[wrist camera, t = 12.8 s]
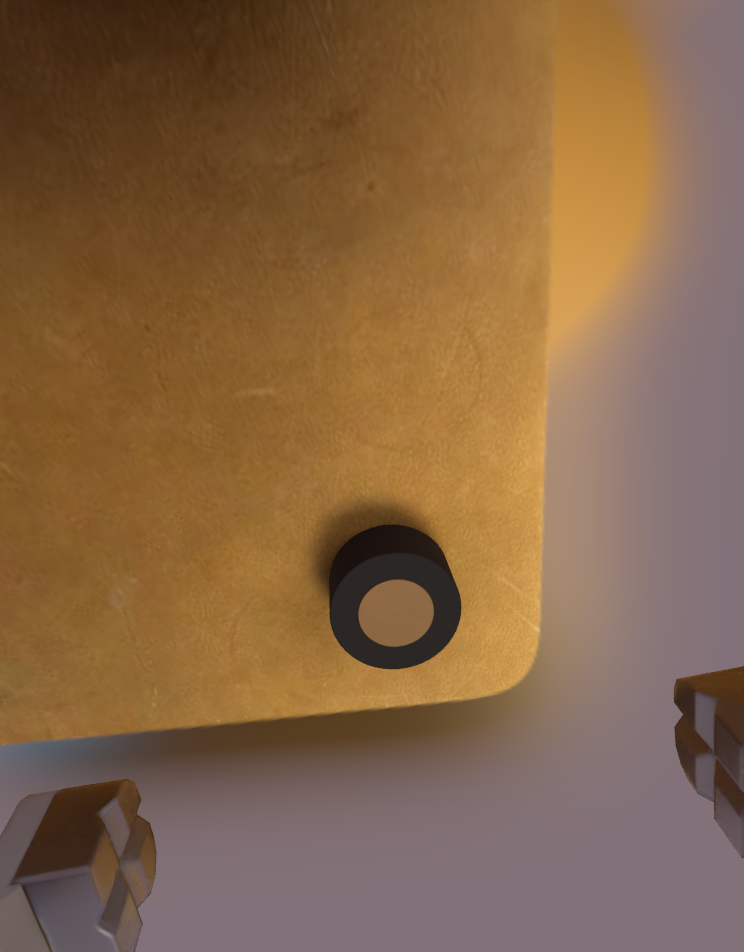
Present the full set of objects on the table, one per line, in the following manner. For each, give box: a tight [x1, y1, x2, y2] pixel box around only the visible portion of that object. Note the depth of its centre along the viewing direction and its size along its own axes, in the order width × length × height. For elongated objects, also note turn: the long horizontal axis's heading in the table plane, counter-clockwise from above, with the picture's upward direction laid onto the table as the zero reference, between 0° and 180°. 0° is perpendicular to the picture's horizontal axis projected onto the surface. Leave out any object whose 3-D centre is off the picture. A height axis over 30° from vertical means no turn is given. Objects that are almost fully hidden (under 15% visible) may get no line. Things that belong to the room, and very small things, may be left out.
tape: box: [329, 525, 461, 669], centre depth 30 cm, size 6×6×3 cm
